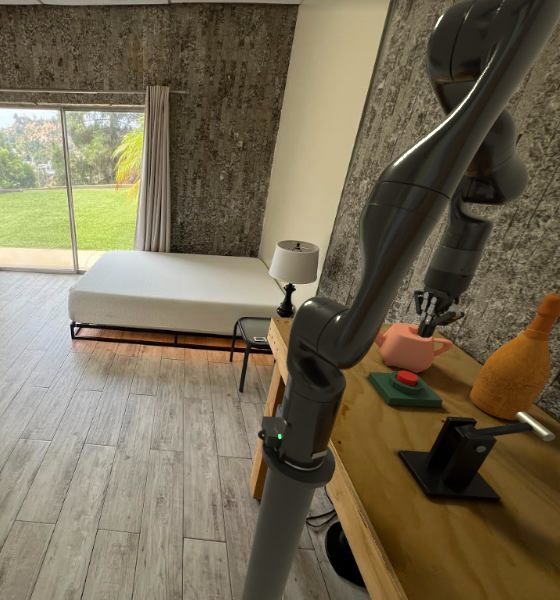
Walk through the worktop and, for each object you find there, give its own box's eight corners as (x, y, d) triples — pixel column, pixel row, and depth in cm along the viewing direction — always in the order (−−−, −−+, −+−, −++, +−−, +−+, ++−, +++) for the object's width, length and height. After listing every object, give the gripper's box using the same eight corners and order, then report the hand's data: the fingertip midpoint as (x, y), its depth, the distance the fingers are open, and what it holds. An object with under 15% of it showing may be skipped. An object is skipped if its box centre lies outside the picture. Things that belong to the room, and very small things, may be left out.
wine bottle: (534, 418, 73) (612, 302, 61) (503, 426, 71) (576, 308, 58) (486, 390, 82) (545, 283, 69) (456, 397, 80) (512, 288, 67)
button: (402, 385, 79) (404, 380, 78) (392, 375, 82) (395, 370, 81) (419, 386, 78) (421, 381, 78) (409, 376, 82) (411, 370, 81)
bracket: (459, 457, 64) (486, 410, 59) (498, 502, 56) (534, 452, 51) (397, 454, 65) (418, 407, 60) (426, 497, 57) (454, 447, 52)
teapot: (360, 340, 104) (370, 307, 99) (437, 359, 94) (453, 324, 89) (357, 361, 94) (369, 326, 88) (444, 385, 84) (462, 346, 79)
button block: (387, 404, 78) (392, 392, 76) (367, 378, 87) (371, 366, 85) (439, 407, 77) (446, 394, 75) (413, 380, 86) (418, 368, 84)
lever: (525, 419, 56) (526, 409, 56) (554, 442, 52) (556, 431, 51) (447, 429, 59) (448, 420, 58) (468, 453, 54) (469, 443, 54)
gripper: (413, 257, 74) (390, 322, 81) (457, 277, 62) (425, 351, 69) (447, 257, 73) (421, 323, 80) (498, 278, 61) (462, 353, 68)
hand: (423, 336), depth 75 cm, fingers closed
